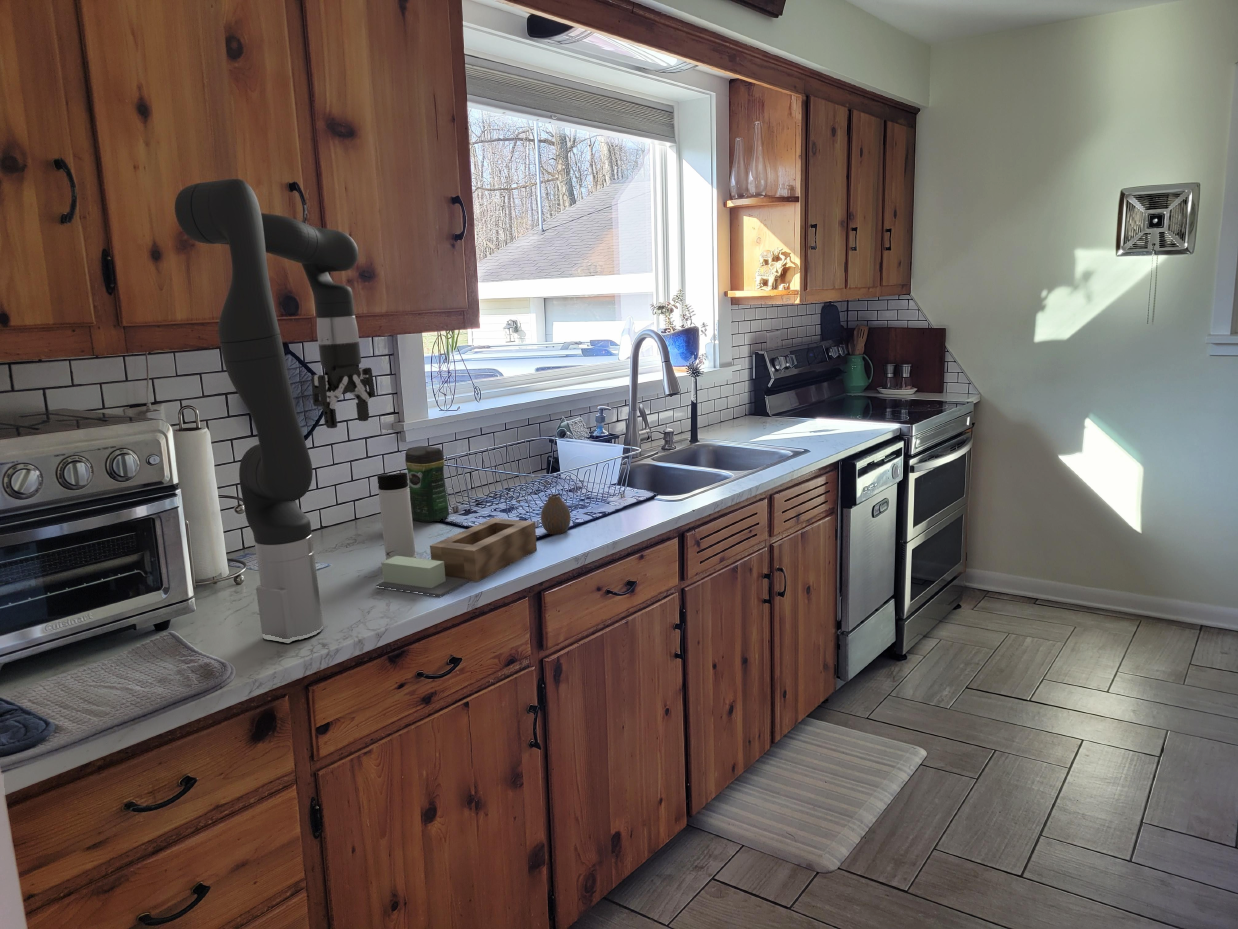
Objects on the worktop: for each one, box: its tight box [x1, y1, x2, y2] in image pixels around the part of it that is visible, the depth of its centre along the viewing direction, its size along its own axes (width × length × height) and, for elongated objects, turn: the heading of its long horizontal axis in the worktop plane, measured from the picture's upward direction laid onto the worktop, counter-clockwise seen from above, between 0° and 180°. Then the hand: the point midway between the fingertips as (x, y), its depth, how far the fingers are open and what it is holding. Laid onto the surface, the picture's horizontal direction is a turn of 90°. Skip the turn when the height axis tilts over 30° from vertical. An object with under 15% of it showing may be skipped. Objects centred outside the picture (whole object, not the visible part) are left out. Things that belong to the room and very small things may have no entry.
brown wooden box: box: [429, 517, 538, 583], centre depth 193 cm, size 22×11×6 cm, turn 152°
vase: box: [540, 494, 571, 535], centre depth 213 cm, size 7×7×9 cm
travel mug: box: [376, 472, 417, 560], centre depth 194 cm, size 6×7×20 cm
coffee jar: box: [404, 445, 450, 523], centre depth 231 cm, size 10×8×19 cm
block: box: [380, 556, 446, 588], centre depth 182 cm, size 12×4×4 cm, turn 63°
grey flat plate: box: [375, 576, 470, 597], centre depth 181 cm, size 9×16×1 cm, turn 62°
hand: (348, 424), depth 179 cm, fingers open, 8 cm apart
